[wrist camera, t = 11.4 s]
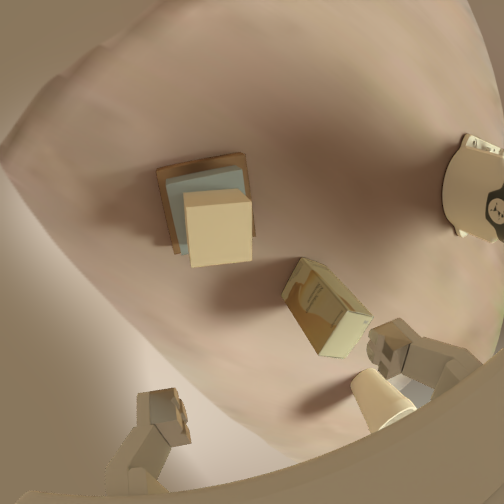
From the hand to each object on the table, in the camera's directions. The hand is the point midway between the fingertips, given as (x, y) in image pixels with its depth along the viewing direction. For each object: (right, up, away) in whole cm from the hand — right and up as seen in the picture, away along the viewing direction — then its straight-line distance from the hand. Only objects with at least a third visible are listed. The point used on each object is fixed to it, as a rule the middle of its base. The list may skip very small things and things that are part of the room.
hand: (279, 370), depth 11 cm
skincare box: (+6, +1, +30) cm, 30 cm away
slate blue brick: (-6, +9, +19) cm, 22 cm away
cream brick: (-5, +8, +17) cm, 19 cm away
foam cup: (+22, -21, +44) cm, 54 cm away
